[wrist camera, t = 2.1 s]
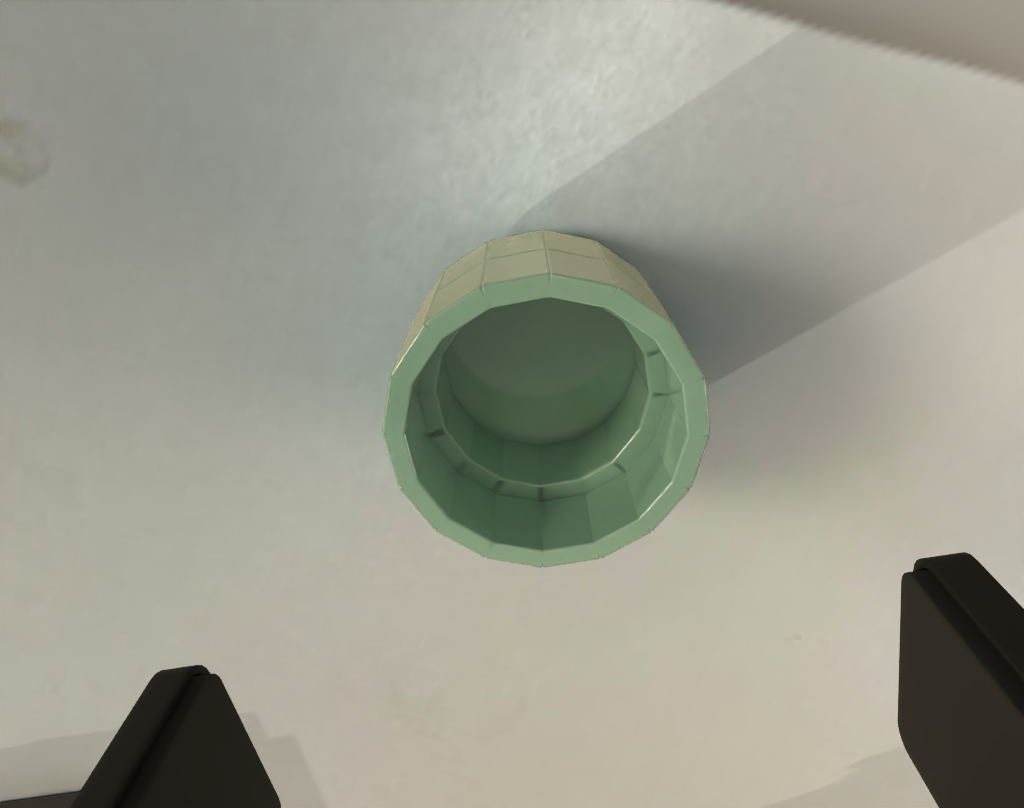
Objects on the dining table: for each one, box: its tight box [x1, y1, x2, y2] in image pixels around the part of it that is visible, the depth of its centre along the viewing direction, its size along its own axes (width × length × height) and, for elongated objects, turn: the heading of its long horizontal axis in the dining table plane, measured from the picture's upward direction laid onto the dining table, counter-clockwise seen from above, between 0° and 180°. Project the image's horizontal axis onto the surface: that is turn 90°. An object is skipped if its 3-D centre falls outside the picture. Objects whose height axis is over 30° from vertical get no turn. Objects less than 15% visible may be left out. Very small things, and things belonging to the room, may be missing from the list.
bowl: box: [382, 230, 710, 567], centre depth 18 cm, size 7×7×5 cm
